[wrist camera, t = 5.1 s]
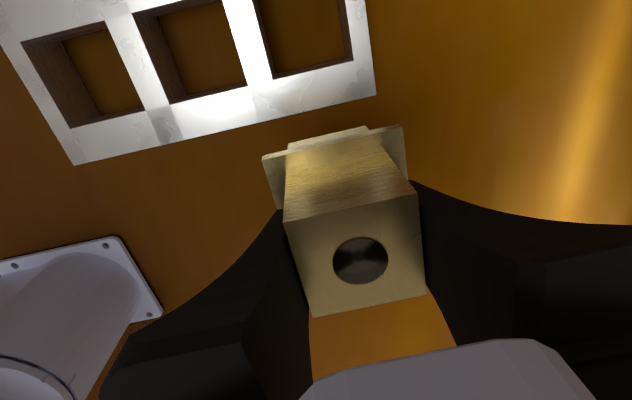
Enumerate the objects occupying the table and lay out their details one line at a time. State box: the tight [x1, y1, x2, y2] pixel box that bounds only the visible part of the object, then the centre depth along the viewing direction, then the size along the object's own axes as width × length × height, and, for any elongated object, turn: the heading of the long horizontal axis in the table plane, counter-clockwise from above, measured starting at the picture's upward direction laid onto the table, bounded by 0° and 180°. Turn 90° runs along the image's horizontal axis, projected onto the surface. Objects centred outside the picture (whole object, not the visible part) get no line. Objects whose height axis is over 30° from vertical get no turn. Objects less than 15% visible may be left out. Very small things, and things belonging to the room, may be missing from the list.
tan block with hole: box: [261, 123, 426, 318], centre depth 12 cm, size 5×5×7 cm
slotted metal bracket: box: [0, 0, 376, 166], centre depth 17 cm, size 17×8×3 cm, turn 102°
